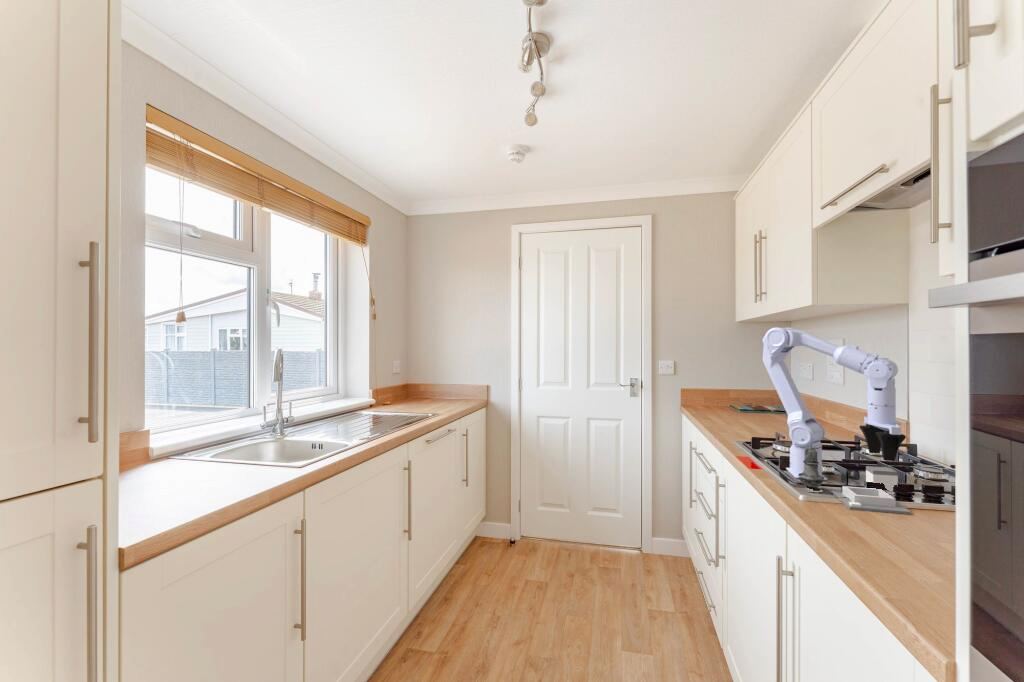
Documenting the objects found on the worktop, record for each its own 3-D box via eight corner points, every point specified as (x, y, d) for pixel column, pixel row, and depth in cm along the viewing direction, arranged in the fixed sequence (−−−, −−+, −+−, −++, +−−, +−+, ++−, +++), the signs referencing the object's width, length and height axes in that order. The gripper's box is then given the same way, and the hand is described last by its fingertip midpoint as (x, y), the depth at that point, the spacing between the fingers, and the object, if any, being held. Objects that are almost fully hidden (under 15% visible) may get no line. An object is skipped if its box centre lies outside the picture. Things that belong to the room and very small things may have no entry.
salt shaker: (829, 493, 117) (829, 447, 117) (806, 493, 117) (806, 447, 117) (815, 486, 123) (814, 442, 123) (793, 486, 123) (793, 442, 123)
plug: (865, 488, 121) (865, 466, 121) (889, 490, 120) (889, 467, 119) (873, 493, 117) (873, 470, 117) (897, 495, 116) (897, 472, 116)
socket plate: (829, 492, 118) (829, 482, 118) (884, 496, 115) (884, 486, 115) (849, 509, 107) (849, 498, 107) (911, 514, 103) (911, 503, 103)
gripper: (915, 409, 110) (916, 465, 110) (885, 401, 124) (885, 450, 124) (881, 408, 112) (881, 463, 112) (855, 400, 126) (855, 449, 126)
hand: (881, 456), depth 118 cm, fingers open, 7 cm apart
